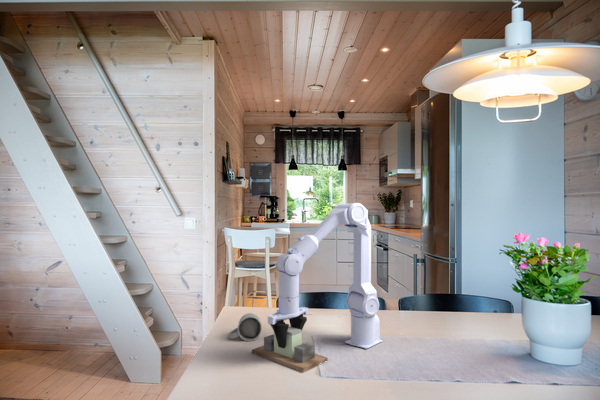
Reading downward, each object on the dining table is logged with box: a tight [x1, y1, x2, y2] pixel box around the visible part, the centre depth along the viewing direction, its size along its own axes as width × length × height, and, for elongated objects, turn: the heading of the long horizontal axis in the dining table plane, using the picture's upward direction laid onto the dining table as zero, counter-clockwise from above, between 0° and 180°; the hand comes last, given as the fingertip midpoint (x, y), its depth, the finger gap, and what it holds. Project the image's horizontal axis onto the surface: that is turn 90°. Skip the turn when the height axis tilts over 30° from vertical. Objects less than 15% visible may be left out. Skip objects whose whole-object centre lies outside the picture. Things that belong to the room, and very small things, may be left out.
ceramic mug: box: [227, 312, 263, 342], centre depth 126 cm, size 11×8×8 cm
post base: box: [251, 333, 328, 373], centre depth 109 cm, size 10×20×4 cm, turn 48°
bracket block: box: [273, 325, 303, 358], centre depth 109 cm, size 4×7×7 cm, turn 48°
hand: (288, 344), depth 109 cm, fingers open, 5 cm apart
